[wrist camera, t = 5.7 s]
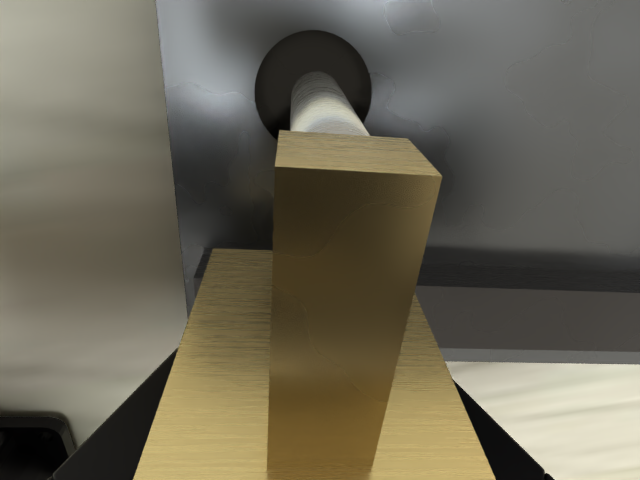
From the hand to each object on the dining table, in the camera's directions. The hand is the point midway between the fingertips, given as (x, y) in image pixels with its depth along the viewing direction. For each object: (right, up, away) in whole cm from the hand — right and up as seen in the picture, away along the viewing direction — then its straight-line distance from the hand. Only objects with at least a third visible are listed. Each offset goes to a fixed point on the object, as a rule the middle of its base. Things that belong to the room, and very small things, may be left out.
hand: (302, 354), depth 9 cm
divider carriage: (0, +3, +1) cm, 3 cm away
